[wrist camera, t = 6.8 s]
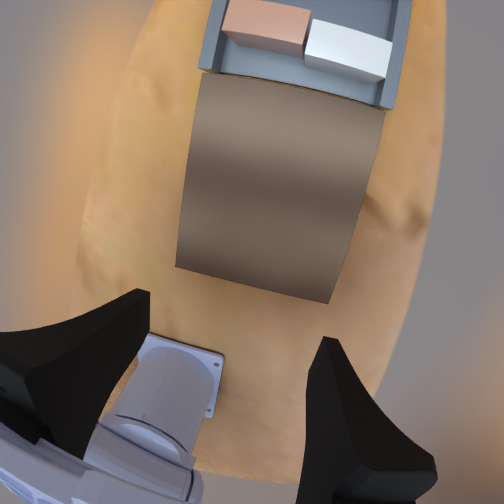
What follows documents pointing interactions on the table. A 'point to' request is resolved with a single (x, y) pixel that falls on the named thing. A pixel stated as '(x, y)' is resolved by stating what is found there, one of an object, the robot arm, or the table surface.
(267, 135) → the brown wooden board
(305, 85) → the tray
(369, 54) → the tile cream
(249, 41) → the tile terracotta
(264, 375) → the table surface
